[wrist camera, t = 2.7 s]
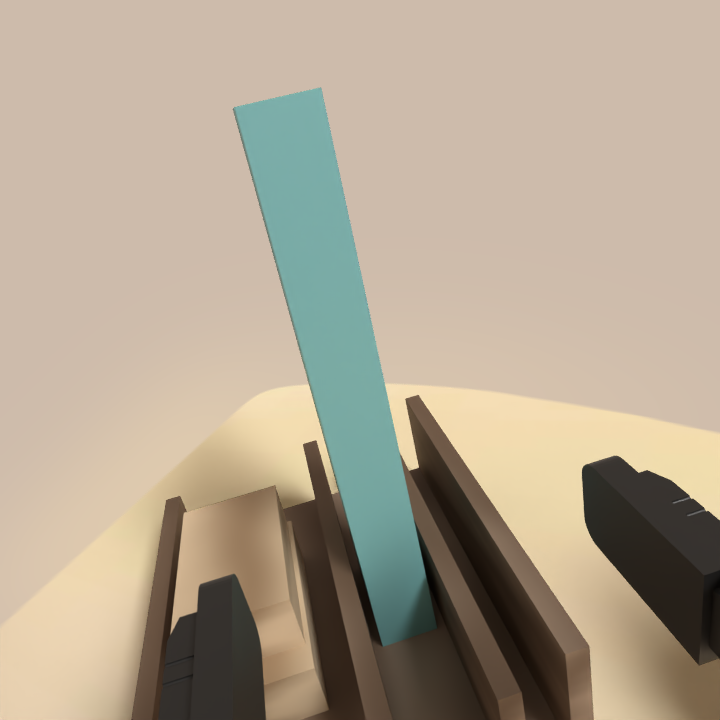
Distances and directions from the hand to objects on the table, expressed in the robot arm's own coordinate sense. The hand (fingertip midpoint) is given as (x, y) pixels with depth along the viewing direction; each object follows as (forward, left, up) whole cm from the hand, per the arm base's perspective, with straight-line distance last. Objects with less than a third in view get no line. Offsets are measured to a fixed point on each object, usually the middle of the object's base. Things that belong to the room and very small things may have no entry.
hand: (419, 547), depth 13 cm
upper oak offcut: (-7, +11, -10) cm, 16 cm away
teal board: (0, +11, -13) cm, 16 cm away
